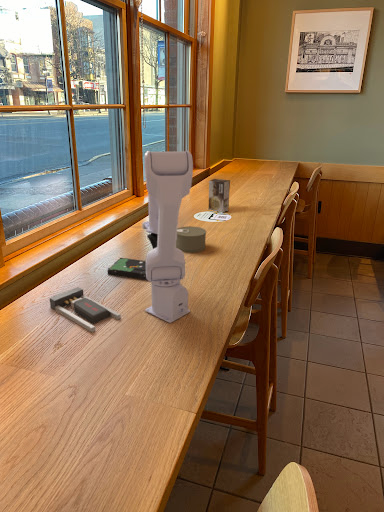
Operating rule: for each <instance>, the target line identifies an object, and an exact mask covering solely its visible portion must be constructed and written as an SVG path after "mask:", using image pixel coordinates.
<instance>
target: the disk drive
mask: <svg viewBox="0 0 384 512" xmlns="http://www.w3.org/2000/svg"><path fill="white" fill-rule="evenodd" d="M106 271H107V276H115V277H121V278H128V279H129V278H130V279H134V280H135V279H137V280H143V281H148V280H147V278H146V260H143V259H134V258H133V259H132V258H126V257H120V258H119V259H117V260H116V261H114V263H113V264H112V265H111V266H109V267H107V270H106Z"/></svg>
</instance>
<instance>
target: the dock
mask: <svg viewBox="0 0 384 512" xmlns="http://www.w3.org/2000/svg"><path fill="white" fill-rule="evenodd" d="M48 298H49V306H50V309H53V310H54V311H55V312H56V313H59V314H61V315H63V316H64V317H65V318H67V319H69V320H70V321H72V322H74V323H76V324H77V325H78V326H80V327H82V328H84V329H85V330H87V331H88V332H91V333H93V332H95V331H96V326H95V325H94V324H92V323H91V322H89V321H87V320H86V319H85V320H84V318H81V317H80V316H79V315H78V316H77V314H74V313H73V312H71V311H69V310H68V309H66V307H68V306H71V301H73V300H76V299H79V298H87V299H89V300H92V301H93V302H95V303H97V304H98V305H100V306H102V307H104V308H105V309H107V310H108V311H109V312H110V317H112V318H113V319H116V320H120V319H121V318H122V317H121V316H122V315H121V313H119V312H117V311H115V310H114V309H111V308H109V307H107V306H105V305H104V304H102V303H101V302H98V301H96V300H95V299H92V298H90V297H89V296H86V295H85V294H84V289H83V288H81V287H79V286H77V287H74V288H71V289H69V290H66V291H64V292H61V293H58V294H55V295H53V296H51V297H48Z"/></svg>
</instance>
